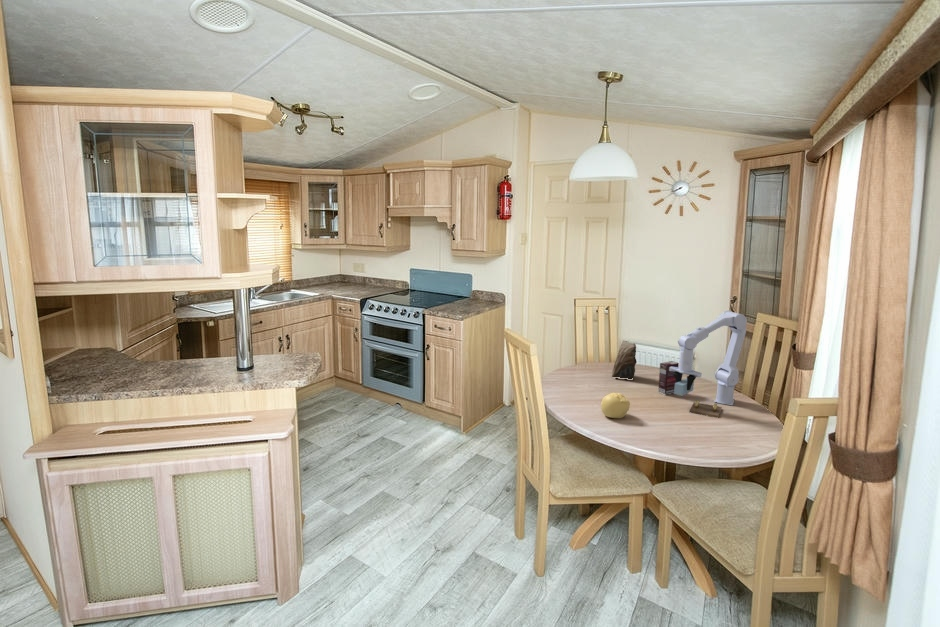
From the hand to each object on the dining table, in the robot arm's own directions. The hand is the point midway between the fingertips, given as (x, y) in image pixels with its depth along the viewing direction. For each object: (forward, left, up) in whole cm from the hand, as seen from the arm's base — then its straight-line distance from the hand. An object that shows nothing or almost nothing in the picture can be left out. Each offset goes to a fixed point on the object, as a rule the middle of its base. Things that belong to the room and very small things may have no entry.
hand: (683, 388), depth 237 cm
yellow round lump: (+30, -24, -9) cm, 39 cm away
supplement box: (-14, -10, -9) cm, 19 cm away
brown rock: (-27, -37, -9) cm, 47 cm away
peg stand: (+2, +10, -8) cm, 13 cm away
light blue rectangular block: (0, 0, -2) cm, 2 cm away
